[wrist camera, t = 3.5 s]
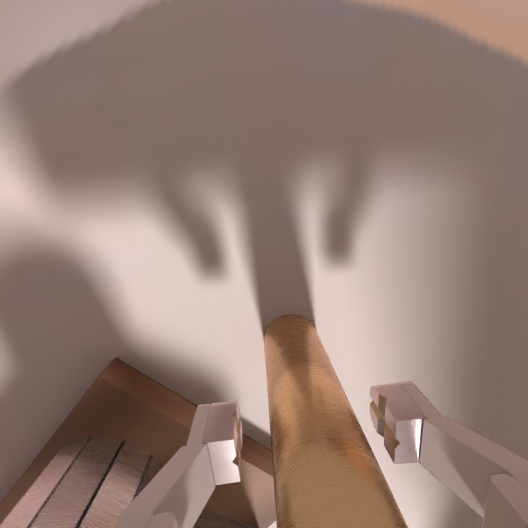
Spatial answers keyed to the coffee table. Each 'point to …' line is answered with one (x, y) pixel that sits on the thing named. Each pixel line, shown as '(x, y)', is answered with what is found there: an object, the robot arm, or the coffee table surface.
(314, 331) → the pin
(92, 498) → the grey socket block
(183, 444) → the base board
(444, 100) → the coffee table surface
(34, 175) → the coffee table surface
